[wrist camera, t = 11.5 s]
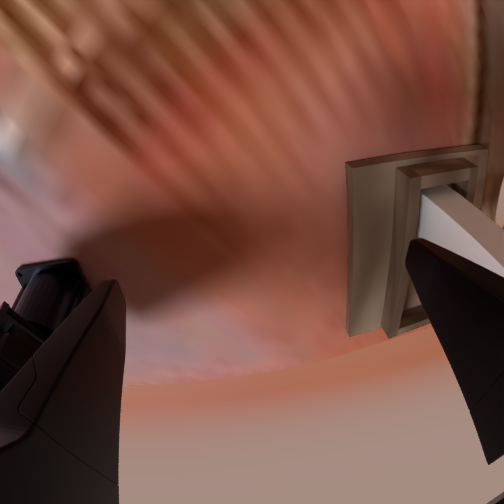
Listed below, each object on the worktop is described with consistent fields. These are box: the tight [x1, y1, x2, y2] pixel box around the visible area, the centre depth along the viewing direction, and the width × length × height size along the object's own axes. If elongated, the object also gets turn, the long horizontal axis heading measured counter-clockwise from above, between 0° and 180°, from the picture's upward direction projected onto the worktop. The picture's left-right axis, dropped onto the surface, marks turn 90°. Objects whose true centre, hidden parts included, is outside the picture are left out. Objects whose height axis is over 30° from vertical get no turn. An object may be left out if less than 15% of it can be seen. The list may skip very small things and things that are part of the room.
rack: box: [345, 144, 489, 339], centre depth 26 cm, size 14×18×3 cm
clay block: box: [415, 184, 504, 277], centre depth 18 cm, size 3×5×14 cm, turn 11°
